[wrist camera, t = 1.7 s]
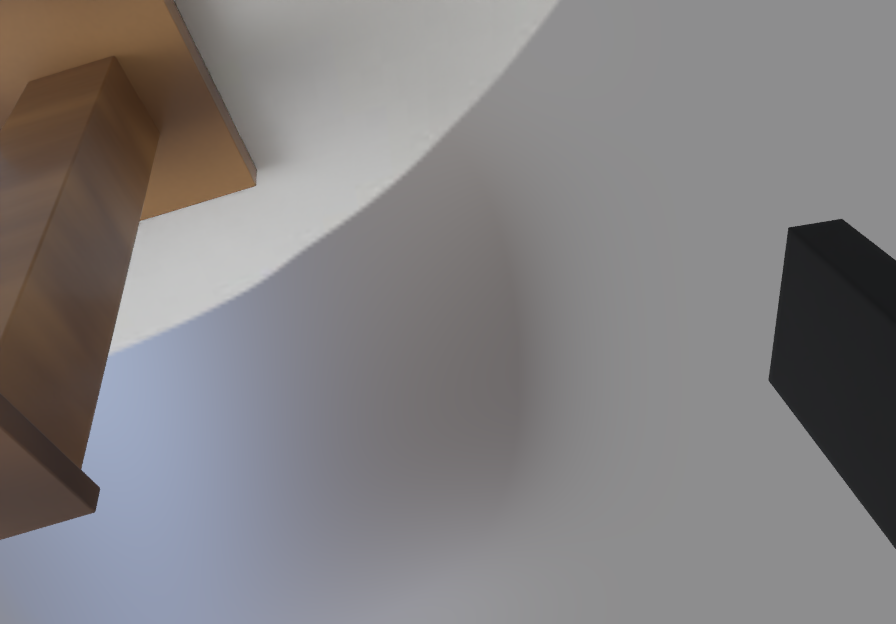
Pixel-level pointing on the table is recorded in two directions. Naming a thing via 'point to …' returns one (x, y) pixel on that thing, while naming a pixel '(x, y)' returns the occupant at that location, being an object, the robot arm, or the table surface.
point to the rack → (86, 215)
